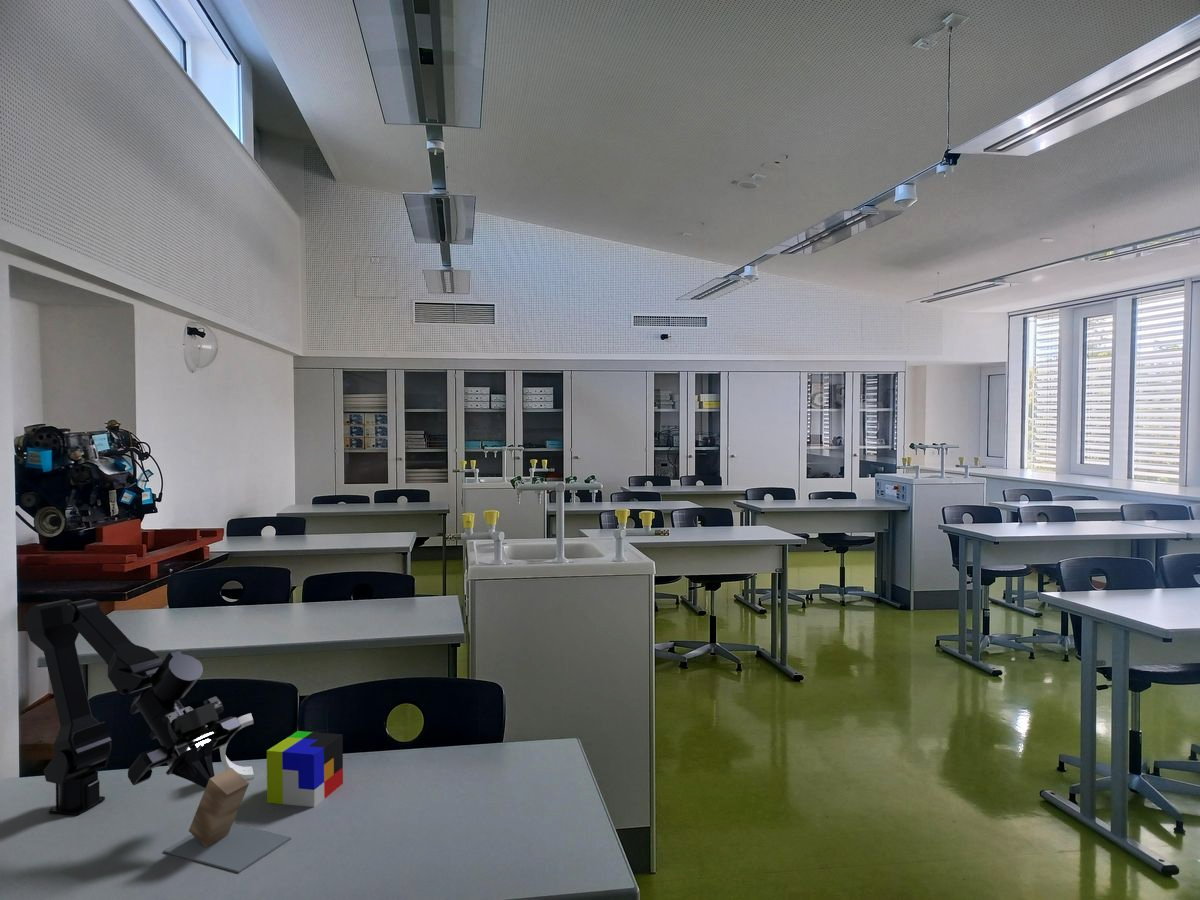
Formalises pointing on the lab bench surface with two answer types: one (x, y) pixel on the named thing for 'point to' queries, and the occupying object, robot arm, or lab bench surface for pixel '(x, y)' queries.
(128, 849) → the lab bench surface
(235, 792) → the walnut block
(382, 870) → the lab bench surface
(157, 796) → the lab bench surface
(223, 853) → the slate mat
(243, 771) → the headphone stand
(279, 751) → the puzzle toy
